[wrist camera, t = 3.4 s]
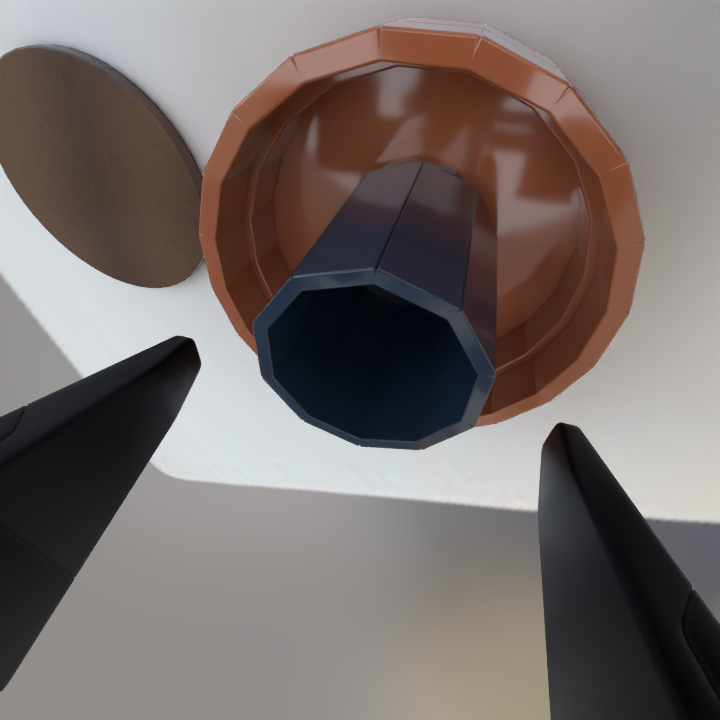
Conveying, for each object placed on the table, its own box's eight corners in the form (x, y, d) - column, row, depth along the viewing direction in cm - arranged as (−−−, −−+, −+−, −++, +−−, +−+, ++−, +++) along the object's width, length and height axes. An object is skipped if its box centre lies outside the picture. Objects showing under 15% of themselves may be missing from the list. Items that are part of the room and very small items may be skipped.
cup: (517, 170, 13) (530, 296, 7) (470, 322, 17) (456, 471, 12) (339, 145, 14) (236, 243, 8) (337, 296, 18) (268, 423, 13)
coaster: (179, 58, 14) (168, 60, 13) (230, 298, 20) (224, 304, 20) (-56, 32, 15) (-72, 33, 15) (66, 264, 22) (57, 269, 22)
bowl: (704, 40, 10) (797, 62, 7) (527, 384, 19) (532, 462, 16) (235, 1, 12) (141, 4, 9) (276, 330, 21) (236, 390, 18)
